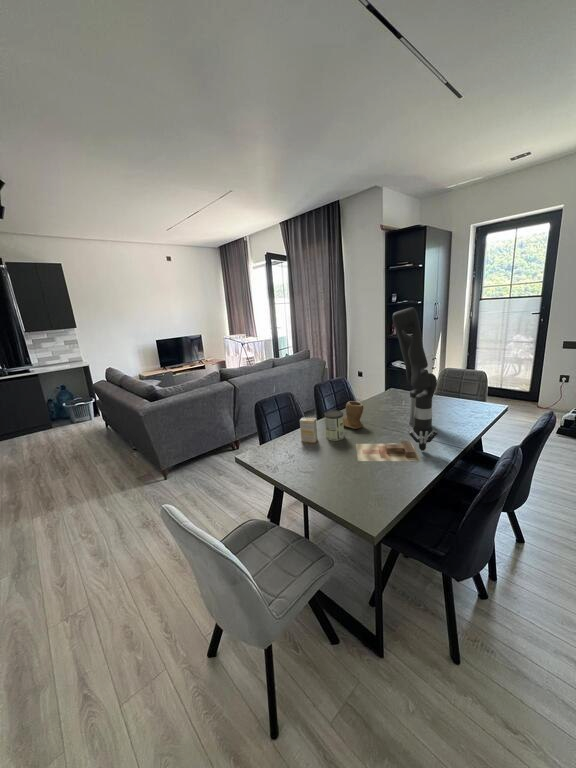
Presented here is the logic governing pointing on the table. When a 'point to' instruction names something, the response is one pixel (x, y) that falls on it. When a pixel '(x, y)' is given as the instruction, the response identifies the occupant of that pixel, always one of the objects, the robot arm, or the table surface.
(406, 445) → the t block
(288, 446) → the table surface
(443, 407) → the table surface
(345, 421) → the terracotta vase
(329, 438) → the coffee can
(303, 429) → the supplement box
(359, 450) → the board
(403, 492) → the table surface
